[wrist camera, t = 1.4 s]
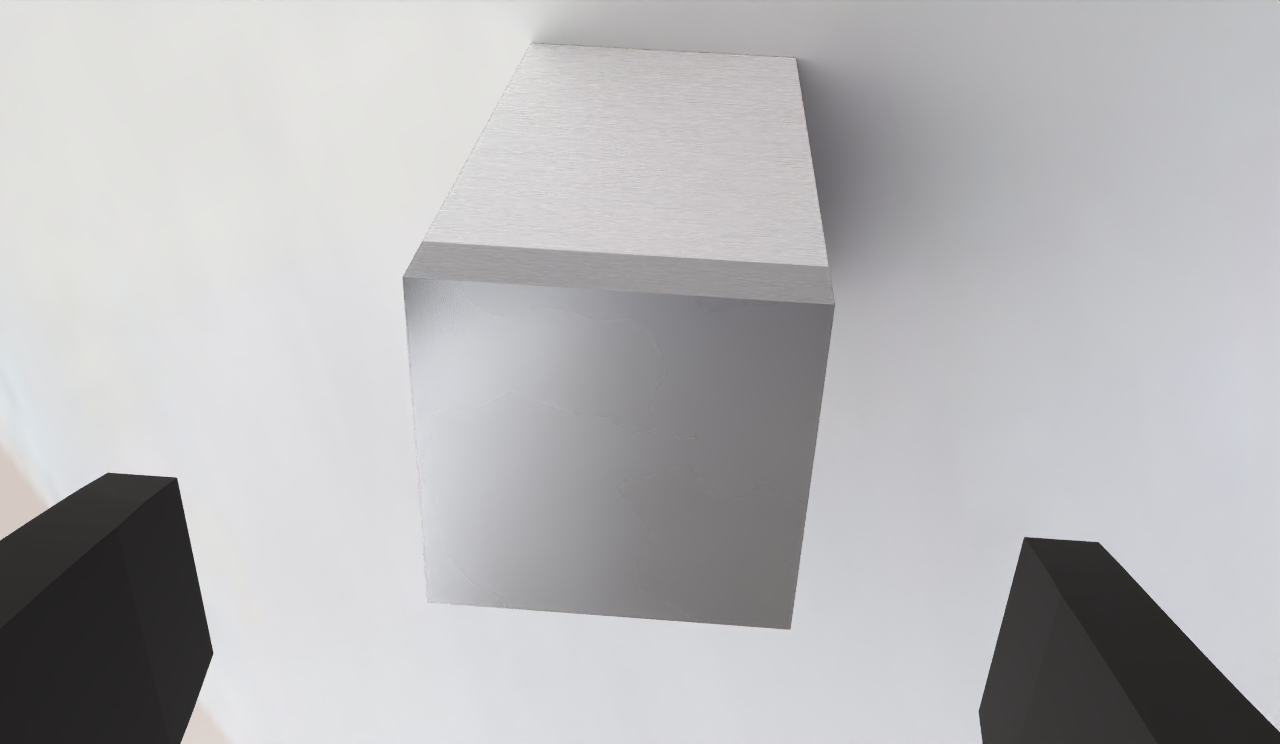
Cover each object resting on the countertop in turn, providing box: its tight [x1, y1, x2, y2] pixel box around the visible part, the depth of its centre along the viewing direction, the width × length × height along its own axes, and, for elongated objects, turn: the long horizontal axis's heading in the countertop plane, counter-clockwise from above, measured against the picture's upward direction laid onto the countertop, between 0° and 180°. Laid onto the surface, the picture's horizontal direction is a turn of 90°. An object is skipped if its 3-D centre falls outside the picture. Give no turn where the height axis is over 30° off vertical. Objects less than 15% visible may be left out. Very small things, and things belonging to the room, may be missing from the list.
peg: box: [403, 43, 835, 629], centre depth 15 cm, size 4×4×8 cm
